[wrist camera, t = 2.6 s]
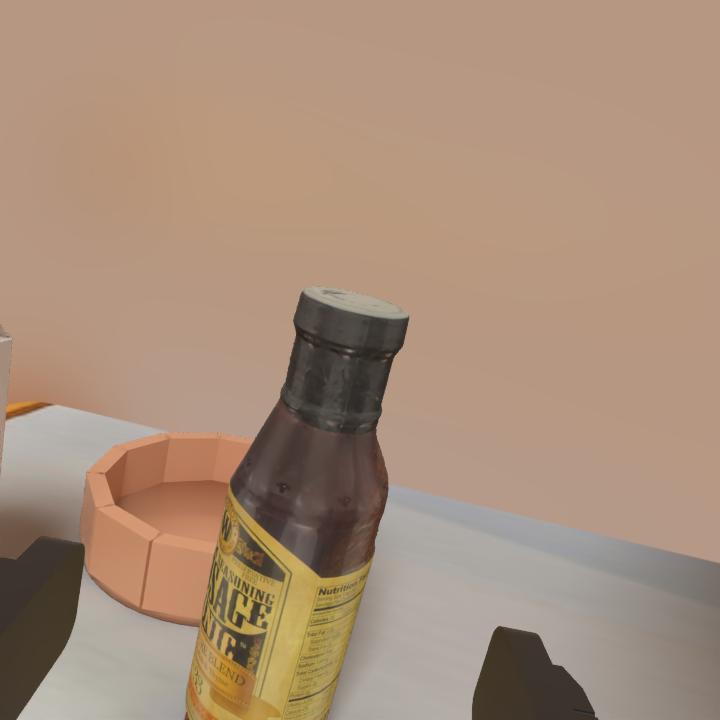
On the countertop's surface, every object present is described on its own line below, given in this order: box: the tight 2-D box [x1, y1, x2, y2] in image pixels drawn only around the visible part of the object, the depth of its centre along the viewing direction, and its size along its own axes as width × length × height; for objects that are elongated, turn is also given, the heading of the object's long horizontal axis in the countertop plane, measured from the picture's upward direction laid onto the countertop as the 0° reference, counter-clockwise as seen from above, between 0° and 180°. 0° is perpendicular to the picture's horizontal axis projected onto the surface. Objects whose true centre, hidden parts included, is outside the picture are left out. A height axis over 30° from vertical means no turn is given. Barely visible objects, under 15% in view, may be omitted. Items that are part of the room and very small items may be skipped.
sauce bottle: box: [185, 286, 409, 720], centre depth 24 cm, size 6×6×20 cm
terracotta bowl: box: [79, 433, 254, 627], centre depth 39 cm, size 16×16×4 cm
